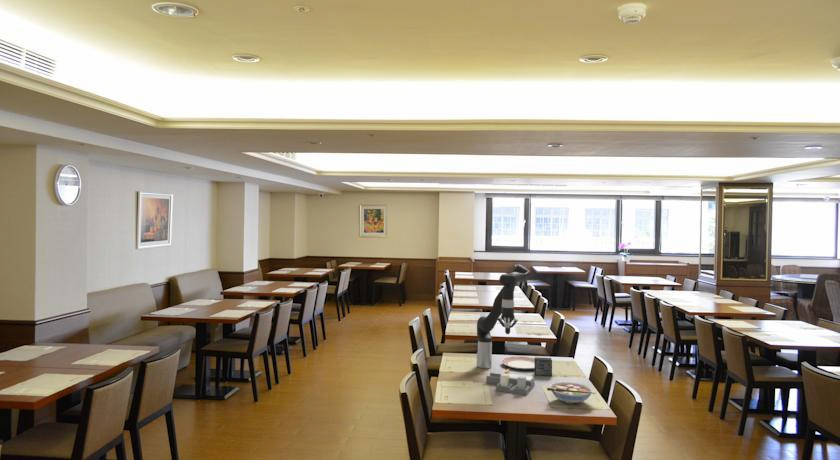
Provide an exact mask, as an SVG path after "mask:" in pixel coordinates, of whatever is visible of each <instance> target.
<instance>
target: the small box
mask: <svg viewBox="0 0 840 460" xmlns="http://www.w3.org/2000/svg"><path fill="white" fill-rule="evenodd" d="M534 358H535V368H534V369H533V370H534V371H533V373H534V376H535V377H536V376H538V377H552V376H553V359H552V358H551V357H538V356H535V357H534Z"/></svg>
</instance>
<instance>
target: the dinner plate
mask: <svg viewBox="0 0 840 460" xmlns="http://www.w3.org/2000/svg"><path fill="white" fill-rule="evenodd" d="M501 363H502V364H503V365H505V366H507V367H509V368H511V369H514V370H515V369H516V370H520V371H523V370H525V371H526V370H527V371H529V370H534V368H535V357H529V356H520V355H519V356H508V357H505V358H502V359H501Z"/></svg>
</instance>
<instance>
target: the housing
mask: <svg viewBox="0 0 840 460" xmlns="http://www.w3.org/2000/svg"><path fill="white" fill-rule="evenodd" d="M501 374H502V373H495V372H490V373H489V375H486V377H485V378H486V382H485V383H486V384H492V385H496V386H495V391H496V392H497V391H498V392H505V393H511V394H518V395H524V396H527V395H528V394H529V393H530V392H531V391H532V389H533V388H534V386H535V378H533V379H532V380H531V381H530V382H529V381H526V377H524V376H525V375H524V376H518V378H517V380H514V379H509V387H505V386H500V375H501Z"/></svg>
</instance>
